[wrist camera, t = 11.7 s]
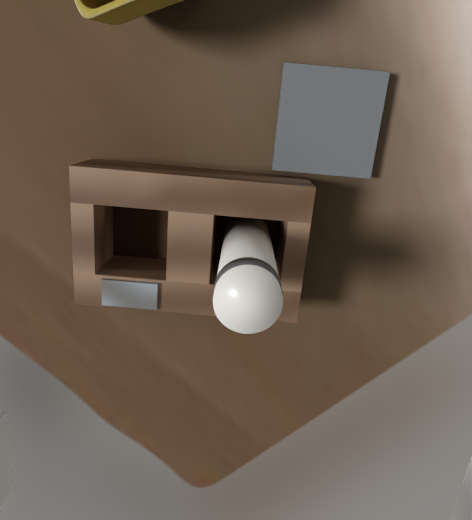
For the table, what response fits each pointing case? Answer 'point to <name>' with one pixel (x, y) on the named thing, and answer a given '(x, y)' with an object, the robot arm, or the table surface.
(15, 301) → the table surface
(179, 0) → the flower pot
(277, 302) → the plug
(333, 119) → the mat
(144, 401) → the table surface
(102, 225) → the socket block
